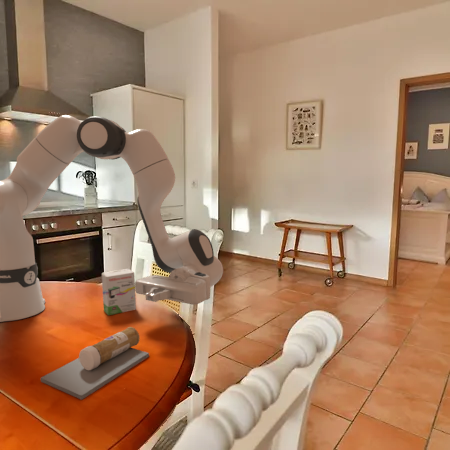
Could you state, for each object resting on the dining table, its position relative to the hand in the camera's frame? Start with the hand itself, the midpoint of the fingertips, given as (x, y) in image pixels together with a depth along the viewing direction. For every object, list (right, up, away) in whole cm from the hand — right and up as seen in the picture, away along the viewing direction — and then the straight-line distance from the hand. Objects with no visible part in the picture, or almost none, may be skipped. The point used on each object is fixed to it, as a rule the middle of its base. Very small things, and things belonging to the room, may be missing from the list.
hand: (149, 298), depth 89 cm
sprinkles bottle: (-3, -8, -3) cm, 9 cm away
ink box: (-13, -8, +20) cm, 25 cm away
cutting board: (-8, -12, -12) cm, 19 cm away
